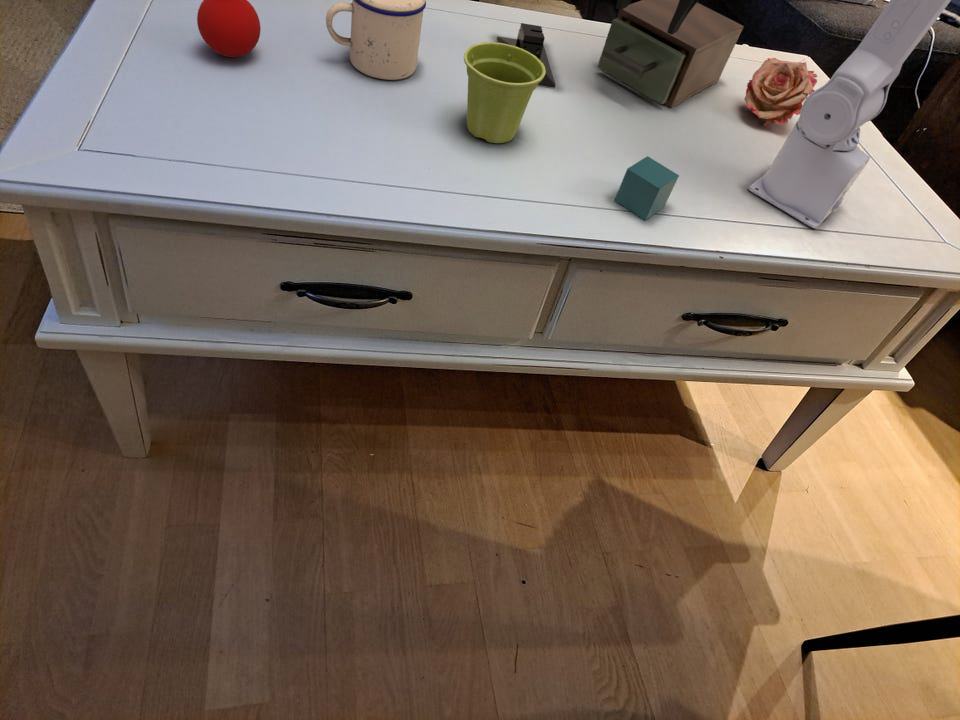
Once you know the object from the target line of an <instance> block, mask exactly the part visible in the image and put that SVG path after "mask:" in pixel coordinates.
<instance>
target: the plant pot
mask: <svg viewBox="0 0 960 720" xmlns="http://www.w3.org/2000/svg"><path fill="white" fill-rule="evenodd" d="M463 62H464V64H465V66H466V74H467V99H466V100H467V101H466V102H467V105H466V128H467V130H468V132H469V133H470V134H471V135H472V136H473V137H475V138H479V139H480V138H481V139H484V140H485V141H486V142H487V143H491V144H503V143H508V142H511V141H512V140H513V138H514V137H515V136H516V135H517V132H518V129H519V128H520V127H519V126H520V125H521V122H522V119H523V117H524V115H525V112H526V109H527V106H528V105H529V103H530V100H531V97H532V95H533V94H534V93H533V92H534V91H535V90H536V89H537V87H538V86H537V85H538V83H539V82H540V81H541V80H542V79H543V78H544V76H545V73H546V70H545V67H544V65H543V63H542V62H541V61H540V60H539V59H538V58H537V57H536V56H534V55H533V54H531V53H529V52H528V51H526V50H524V49H521V48H518V47H516V46H512V45H508V44H503V43H498V42H497V41H496V42H494V41H490V42H488V41H485V42H480V43H474V44H472V45H470V46H468V48H466V49H465V51H464V53H463Z"/></svg>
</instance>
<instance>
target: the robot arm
mask: <svg viewBox="0 0 960 720" xmlns="http://www.w3.org/2000/svg"><path fill="white" fill-rule="evenodd" d="M699 1H700V0H679V3H678V6H677V9H676V11H675V13H674V16H673V18H672V20H671V23H670V25H669V28H668V31H667V33H669V34H671V35H672V34H674V33H676V32H677V31H678V30H679V28H680V26H681V24H682V23H683V21H684V19H685V18H686V16H687V15H688V14H689V12H690V11H691V9H692V8H693V7H694V6H695V4H696V3H699ZM630 2H631V0H616V5H615V9H616V10H622V9H624V8H626V7H627V6H628V5H629V3H630ZM951 2H952V0H889V1H888V3H887V4H886V6H885V7H884V8H883V10H882V11H881V13H880V14H879V15H878V17H877V19H876V20H875V22H874V23H873V24H872V26H871V27H870V29H869V30H868V31H867V33H866V35H865V36H864V37H863V38H862V40H861V42H860V43H859V45H858V46H857V47H856V49H855V50H853V52H852V53H851V54H850V55H849V56H848V57H847V58H846V59H845V61H843V62H842V64H841V65H840V66H839V67H838V68H837V69H836V70H835V72H834V73H833V74H832V76H831V77H830V79H829V80H828V81H827V82H826V83H825V84H824V85H822V86H821V87H819V88H817V89H814V92H812V93H811V94H810V95H808V97H807V98H806V99H805V100H804V101H803V102H802V108H801V111H800V114H799V118H798V119H797V121H796V123H795V124H794V126H793V128H792V129H791V131H790V132H789V134H788V136H787V138H786V139H785V141H784V143H783V145H782V146H781V149H779V151H778V153H777V155H776V157H775V158H774V160H773V161H772V163H771V165H770V167H769V168H768V170H767V171H766V172H765V173H764V174H762V175H761V176H760V177H759V178H757V179H756V180H755V181H754V182H753V183H751V184H750V185H749V187H748V190H749V191H750V192H751V193H753V194H755V195H757V196H758V197H759V198H761V199H763V200H765V201H766V202H768V203H769V204H771V205H773V206H775V207H777V208H778V209H780V210H781V211H783V212H785V213H787V214H788V215H790V216H792V217H793V218H795V219H796V220H798V221H800V222H801V223H803V224H805V225H807V226H808V227H810V228H812V229H817V228H818V227H819V226H820V225H821V224H822V223H823V222H824V221H825V220H826V219H827V218H829V216H830V214H832V213H833V212H836V211H837V209H838V208H839V207H840V205H841V204H842V203H843V201H844V197H845V196H846V194H847V193H848V192H849V190H850V189H851V187H852V186H853V185H854V183H855V182H856V180H857V179H858V178H859V175H861V173H862V172H863V170H864V169H865V168H866V166H867V164H868V162H869V161H870V159H871V157H870V155H868V154H867V153H865V152H864V151H862V150H861V148H860V147H859V146H858V144H859V143H860V138H861V137H860V135H861V127H862V126H863V125H865V124H866V123H868V122H870V121H872V120H873V119H875V118H876V117H878V115H880V113H881V112H882V111H883V109H884V107H885V106H886V103H887V100H888V95H889V91H890V88H891V86H892V84H893V83H894V81H895V80H896V79H897V77H899V76H900V73H901V70H902V67H903V64H904V63H905V61H906V60H907V59H908V57H909V56H910V55H911V53H912V52H913V51H914V50H915V48H916V47H917V46H918V44H919V43H920V42H921V41H922V39H923V38H924V36H925V35H926V34H927V33H928V32H929V30H930V29H931V27H932V26H933V25H934V24H935V22H936V21H937V20H938V18H939V17H940V16H941V14H943V12H944V11H945V10H946V8H947V7H948V5H949V4H950V3H951Z"/></svg>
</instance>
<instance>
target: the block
mask: <svg viewBox="0 0 960 720" xmlns="http://www.w3.org/2000/svg"><path fill="white" fill-rule="evenodd" d="M679 177H680V174H678V173H676V172H675V171H673V170H671V169H669V168H668V167H667V166H665V165H663V164H661V162H658V161H656V160H655V159H653V158H651V157H650V156H649V155H647V156H645V157H644V158H641V159H640V160H639V161H637V162H636V163H634V164H632V165H631V166H629V167H627V168H626V171H625V173H624V176H623V178H622V181H621V183H620V186H619V188H618V191H617V193H616V194H615V195H616V196H615V198H614V200H613V201H614V202H616V203H617V204H619V205H620V206H622V207H623V208H625V209H626V210H628V211H629V212H631V213H633V214H634V215H635V216H637V217H639V218H640V219H642V220H643V221H647V220H648V219H650V218H651V217H653V215H655V214H656V213H658V212H659V211H661V210H662V209H664V208H665V206H666V204H667V202H668V201H669V198H670V195H671V194H672V192H673V189H674V188H675V185H676V184H677V181H678V179H679Z"/></svg>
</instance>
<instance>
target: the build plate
mask: <svg viewBox="0 0 960 720" xmlns="http://www.w3.org/2000/svg"><path fill="white" fill-rule="evenodd" d="M545 38H546V37H545V35H544V33H543V28H542V26H541V25H535V24H529V23H523V22H521V23H520V27H519V29H518V33H517V38H511V37H504V36H500V35H499V36H497V37H496V42H497V43H503V44H508V45H512V46H516V47H518V48H521V49H524V50H526V51H528V52H529V53H531V54H533V55H534V56H536V57H537V58H538V59H539V60H540V61H541V62H542V63H543V65H544V67H545V70H546V73H545V76H544V78H543V79H542V80H541V81H540V82H539V83H538V85H537V87H544V88H552V89H555V88H556V85H557V84H556V82H555V81H556V80H555V78H554V75H553V72H552V69H551V64H550V62H549V61H550V60H549V58H548V55H547V51H546V48H545V45H544V43H545V40H546V39H545Z"/></svg>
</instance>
